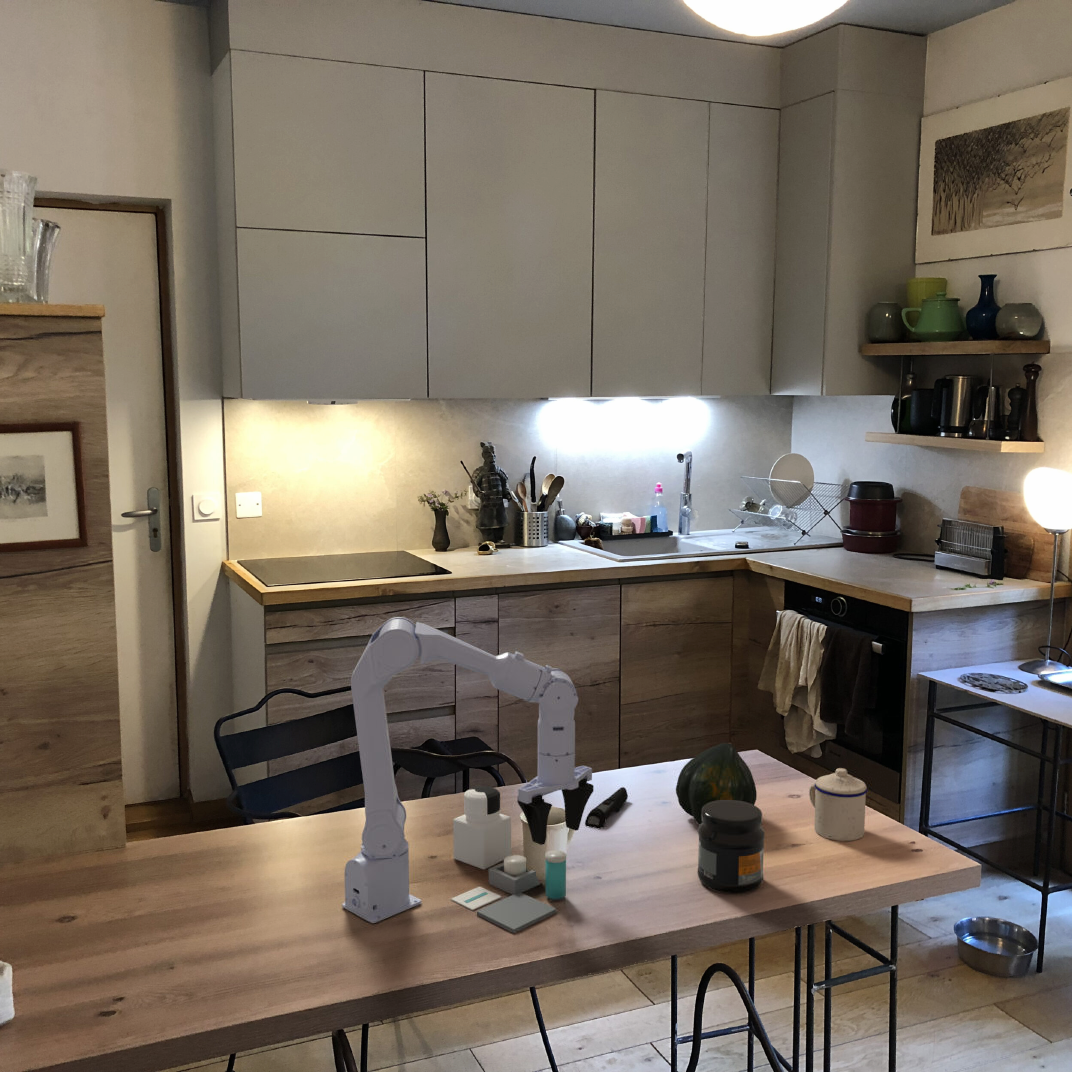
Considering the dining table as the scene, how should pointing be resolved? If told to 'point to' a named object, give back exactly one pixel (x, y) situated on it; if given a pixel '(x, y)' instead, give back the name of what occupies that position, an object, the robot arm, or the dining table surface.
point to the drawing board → (516, 912)
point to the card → (475, 898)
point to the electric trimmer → (606, 809)
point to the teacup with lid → (839, 806)
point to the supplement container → (731, 846)
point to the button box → (512, 880)
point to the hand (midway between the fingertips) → (555, 835)
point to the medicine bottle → (482, 829)
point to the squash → (714, 780)
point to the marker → (555, 875)
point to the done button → (515, 865)
